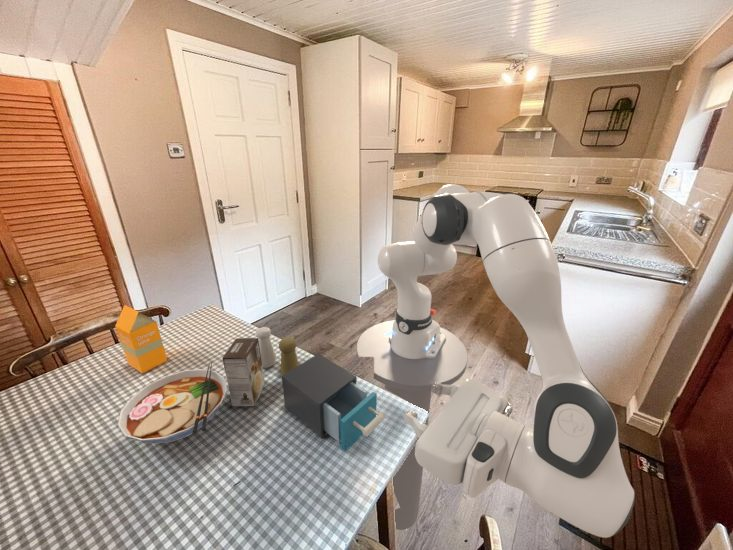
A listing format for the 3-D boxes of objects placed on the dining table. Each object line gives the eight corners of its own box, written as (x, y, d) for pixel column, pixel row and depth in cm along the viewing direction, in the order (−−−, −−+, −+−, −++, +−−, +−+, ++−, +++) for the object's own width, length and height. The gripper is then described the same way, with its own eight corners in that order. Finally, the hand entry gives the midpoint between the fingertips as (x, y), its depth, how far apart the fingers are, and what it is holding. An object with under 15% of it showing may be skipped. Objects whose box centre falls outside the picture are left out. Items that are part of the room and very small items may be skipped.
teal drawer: (390, 431, 74) (392, 403, 70) (359, 464, 65) (359, 434, 62) (338, 395, 84) (337, 369, 81) (306, 420, 76) (304, 392, 73)
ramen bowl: (145, 397, 84) (137, 374, 81) (234, 379, 91) (229, 357, 88) (107, 483, 62) (94, 455, 59) (228, 451, 69) (222, 424, 66)
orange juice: (142, 373, 93) (123, 316, 86) (127, 364, 97) (108, 309, 90) (168, 360, 100) (152, 306, 92) (153, 351, 104) (138, 299, 96)
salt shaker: (255, 369, 96) (249, 334, 91) (261, 358, 101) (256, 324, 96) (273, 369, 95) (269, 334, 91) (279, 358, 101) (275, 324, 96)
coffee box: (244, 383, 90) (236, 337, 84) (265, 383, 90) (259, 337, 84) (231, 407, 81) (221, 357, 75) (255, 407, 81) (247, 357, 75)
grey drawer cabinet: (356, 407, 81) (356, 376, 78) (321, 438, 72) (319, 404, 69) (320, 383, 90) (318, 353, 86) (285, 407, 81) (281, 376, 77)
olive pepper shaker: (277, 375, 93) (273, 345, 89) (285, 362, 99) (281, 334, 95) (295, 377, 92) (292, 347, 88) (302, 364, 98) (300, 335, 94)
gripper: (519, 391, 54) (447, 359, 62) (473, 476, 40) (388, 420, 48) (512, 417, 56) (444, 383, 65) (467, 507, 42) (387, 448, 50)
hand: (420, 399), depth 56 cm, fingers open, 8 cm apart
